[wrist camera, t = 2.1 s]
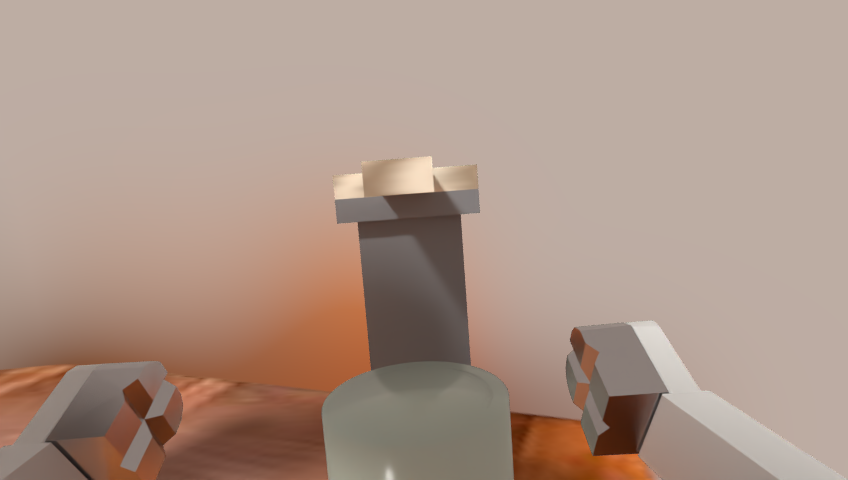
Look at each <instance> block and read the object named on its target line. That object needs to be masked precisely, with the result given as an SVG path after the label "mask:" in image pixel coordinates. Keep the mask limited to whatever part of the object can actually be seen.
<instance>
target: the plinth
mask: <svg viewBox="0 0 848 480" xmlns="http://www.w3.org/2000/svg"><path fill="white" fill-rule="evenodd" d="M335 205H336V216H337V223H351V222H358V231H359V241H360V253H361V264H362V275H363V286H364V296H365V308H366V319H367V328H368V329H367V330H368V340H369V351H370V363H371V370H375V369H378V368H382V367H386V366H390V365H395V364H402V363H409V362H422V361H441V362H453V363H460V364H466V365H470V366H471V362H470V347H469V333H468V317H467V302H466V288H465V273H464V260H463V259H464V258H463V244H462V228H461V214H469V213H480V207H479V192H478V189H469V190H456V191H442V192H429V193H416V194H403V195H390V196H377V197H364V198H351V199H338V200H335Z"/></svg>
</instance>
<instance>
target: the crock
mask: <svg viewBox="0 0 848 480" xmlns="http://www.w3.org/2000/svg"><path fill="white" fill-rule="evenodd" d="M322 423H323V432H324V442H325V452H326V461H327V471H328V480H514V471H513V454H512V437H511V420H510V404H509V393H508V389H507V387H506V386H505V385H504V383H503V382H502V381H501V380H500V379H499V378H498V377H496V376H495V375H493V374H491V373H489V372H487V371H485V370H483V369H480V368H477V367H474V366H470V365H466V364H460V363H453V362H441V361H422V362H409V363H402V364H395V365H390V366H386V367H382V368H378V369H375V370H371V371H369V372H366V373H363V374H361V375H358V376H356V377H354V378H351V379H350V380H348V381H346V382H344V383H343V384H341V385H340V386H338V387H337V388H336V389H335V390H334V391H332V392H331V393H330V395H329V396H328V397H327V398H326V400H325V402H324V404H323V407H322Z"/></svg>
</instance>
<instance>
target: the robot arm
mask: <svg viewBox="0 0 848 480" xmlns="http://www.w3.org/2000/svg"><path fill="white" fill-rule="evenodd" d="M570 342H571V344H572V347H573V349H574V350H573V351H572V352H571V353H570V354H569V355H567V361H566V377H567V384H568V388H569V392H570V395H571V397H572V400H573V403H574V404H576V405H577V406H578V407H579V408H580V409H582V410H583V415H582V419H581V426H582V428H583V431H584V434H585V436H586V439H587V442H588V445H589V447H590V450H591V453H592V455H593V456H600V455H619V454H639V455H638V456H639V457H640V458H641V459H642V460H643V461H644V462H645V463H646V464H647V465H648V466H649V467H650V468H651V469H652V470H653V471H654V472H655V473H656V474H657V475H658V476H659V477H660V478H661V479H662V480H847V479H846V478H845V477H843V476H841V475H840V474H838V473H837V472H835V471H834V470H832V469H831V468H829V467H827V466H826V465H824V464H823V463H821V462H820V461H818V460H817V459H815V458H813V457H812V456H810V455H809V454H807V453H806V452H804V451H803V450H801V449H799V448H798V447H797V446H795V445H793V444H792V443H790V442H789V441H787V440H786V439H784V438H783V437H781V436H780V435H778V434H776V433H775V432H773V431H772V430H770V429H769V428H767V427H766V426H764V425H762V424H761V423H759V422H758V421H756V420H755V419H753V418H752V417H750V416H749V415H747V414H745V413H744V412H742V411H741V410H739V409H738V408H736V407H735V406H733V405H732V404H730V403H728V402H727V401H725V400H724V399H722V398H721V397H719V396H718V395H716V394H715V393H713V392H711V391H701V389H700V388H699V386H698V385H697V383H696V382H695V380H694V379H693V377H692V376H691V374H690V373H689V371H688V370H687V368H686V367H685V365H684V364H683V362H682V361H681V359H680V357H679V356H678V354H677V353H676V351H675V350H674V348H673V347H672V345H671V343H670V342H669V341H668V339H667V337H666V336H665V334H664V333H663V331H662V330H661V328H660V327H659V325H658V324H657V323H655V322H654V321H640V322H628V323H614V324H602V325H592V326H581V327H574V329H573V330H572V333H571V338H570ZM166 375H167V371H166V370H165V368H164V367H163V365H162V364H161V362H157V361H148V362H129V363H111V364H97V365H81V366H76V367H74V368H73V369H71V370H69V371H68V372H67V373H66V374H65V376H64V377H63V378H62V380H61V381H60V382H59V384H58V385H57V386H56V388H55V389H54V390H53V392H52V393H51V394H50V396H49V397H48V398H47V400H46V401H45V402H44V404H43V405H42V406H41V408H40V409H39V411H38V412H37V413H36V415H35V416H34V417H33V419H32V420H31V421H30V423H29V424H28V425H27V427H26V428H25V429H24V431H23V432H22V433H21V435H20V436H19V437H18V439H17V440H16V441H15V443H14V444H13V445H9V446H3V447H2V448H1V449H0V480H156V478H157V475H158V473H159V471H160V469H161V466H162V464H163V462H164V460H165V457H166V454H165V450H164V447H163V445H164V444H165V443H166V442H167V441H168V440H170V439H171V438H172V437H173V436H174V435H175V434H176V432H177V429H178V427H179V425H180V422H181V419H182V411H183V402H182V397H181V394H180V392H179V390H178V389H177V387H176V386H174V385H173V384H171V383H169V382H167V381H165V380H164V379H165V377H166Z"/></svg>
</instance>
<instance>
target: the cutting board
mask: <svg viewBox="0 0 848 480" xmlns="http://www.w3.org/2000/svg"><path fill="white" fill-rule="evenodd" d="M361 166H362V173H361V174H348V175H335V176H333V184H334V195H335V200H338V199H351V198H364V197H377V196H390V195H403V194H416V193H429V192H442V191H456V190H469V189H478V176H477V165H465V166H452V167H438V168H432V157H431V156H430V157H417V158H403V159H391V160H378V161H365V162H361Z"/></svg>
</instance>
